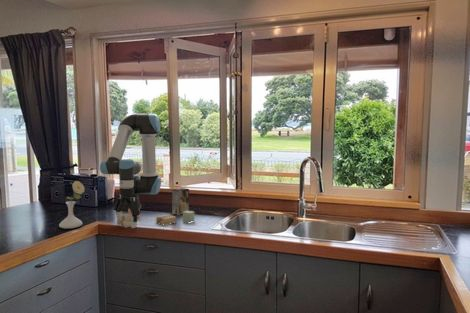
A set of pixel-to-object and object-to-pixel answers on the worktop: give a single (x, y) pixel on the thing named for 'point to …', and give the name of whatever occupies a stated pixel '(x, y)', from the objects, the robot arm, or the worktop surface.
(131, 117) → the robot arm
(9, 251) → the worktop surface
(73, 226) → the flower in vase
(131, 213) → the terracotta block
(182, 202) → the coffee box
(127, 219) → the maple block
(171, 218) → the oak base
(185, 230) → the worktop surface
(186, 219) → the sage block
